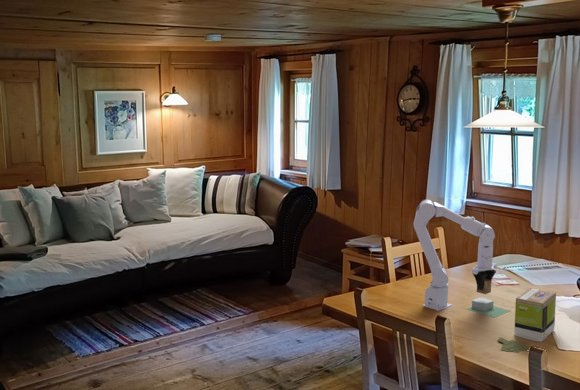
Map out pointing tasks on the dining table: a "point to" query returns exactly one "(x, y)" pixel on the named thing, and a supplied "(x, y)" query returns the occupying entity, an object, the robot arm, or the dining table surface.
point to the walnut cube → (486, 287)
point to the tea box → (535, 314)
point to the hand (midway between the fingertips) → (483, 288)
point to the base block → (482, 304)
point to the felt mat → (490, 311)
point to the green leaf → (513, 345)
